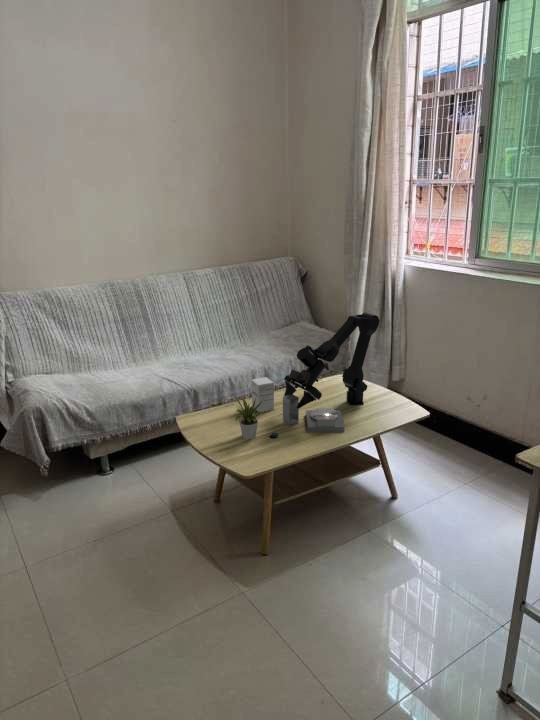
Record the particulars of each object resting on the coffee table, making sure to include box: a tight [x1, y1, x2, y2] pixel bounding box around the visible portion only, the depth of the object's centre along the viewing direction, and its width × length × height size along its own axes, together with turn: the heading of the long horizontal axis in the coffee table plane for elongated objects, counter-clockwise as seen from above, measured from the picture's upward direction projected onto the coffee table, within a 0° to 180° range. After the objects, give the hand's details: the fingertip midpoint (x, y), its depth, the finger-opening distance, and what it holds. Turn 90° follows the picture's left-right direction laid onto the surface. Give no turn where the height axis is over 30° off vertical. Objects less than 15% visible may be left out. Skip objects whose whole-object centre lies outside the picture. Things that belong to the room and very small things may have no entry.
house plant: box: [230, 396, 265, 440], centre depth 211 cm, size 14×14×16 cm
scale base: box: [305, 409, 345, 433], centre depth 223 cm, size 14×16×5 cm
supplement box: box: [251, 376, 275, 413], centre depth 236 cm, size 7×7×13 cm
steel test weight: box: [282, 393, 300, 426], centre depth 223 cm, size 4×4×11 cm
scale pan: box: [311, 407, 338, 421], centre depth 225 cm, size 11×11×1 cm
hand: (290, 404), depth 222 cm, fingers open, 9 cm apart
